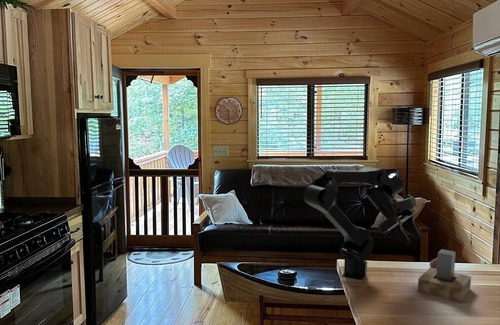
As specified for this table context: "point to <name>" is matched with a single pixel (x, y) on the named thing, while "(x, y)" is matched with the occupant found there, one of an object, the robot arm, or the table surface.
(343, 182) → the robot arm
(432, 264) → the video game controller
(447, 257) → the grey rectangular block
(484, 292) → the table surface
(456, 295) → the brown square wooden frame
